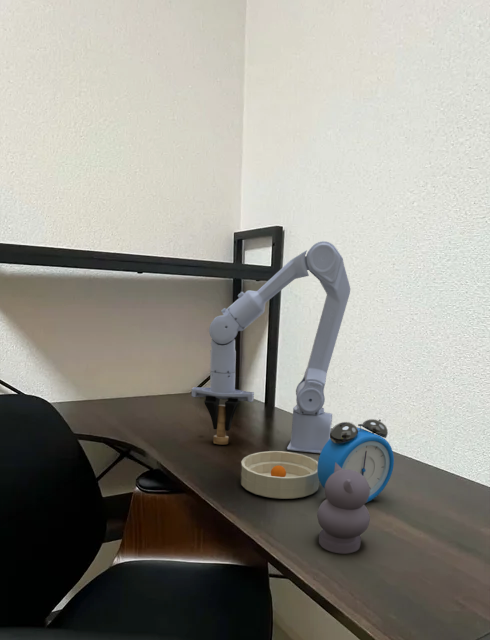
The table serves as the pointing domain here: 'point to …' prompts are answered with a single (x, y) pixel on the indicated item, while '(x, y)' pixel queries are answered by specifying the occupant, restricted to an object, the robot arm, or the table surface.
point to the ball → (278, 471)
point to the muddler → (221, 427)
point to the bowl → (293, 485)
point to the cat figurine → (344, 511)
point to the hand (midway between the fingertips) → (222, 428)
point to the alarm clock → (359, 454)
